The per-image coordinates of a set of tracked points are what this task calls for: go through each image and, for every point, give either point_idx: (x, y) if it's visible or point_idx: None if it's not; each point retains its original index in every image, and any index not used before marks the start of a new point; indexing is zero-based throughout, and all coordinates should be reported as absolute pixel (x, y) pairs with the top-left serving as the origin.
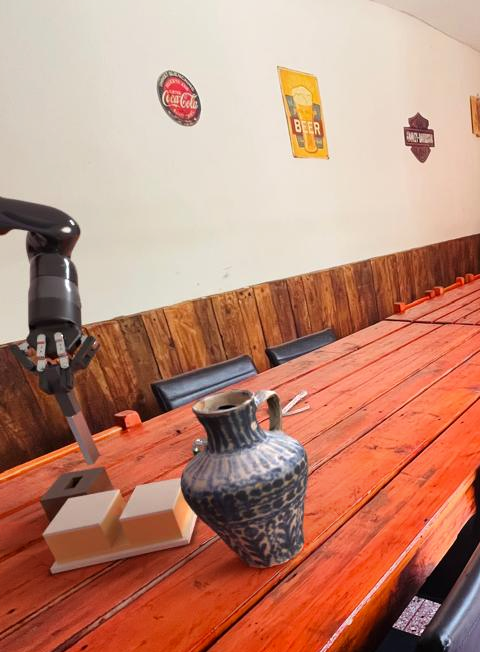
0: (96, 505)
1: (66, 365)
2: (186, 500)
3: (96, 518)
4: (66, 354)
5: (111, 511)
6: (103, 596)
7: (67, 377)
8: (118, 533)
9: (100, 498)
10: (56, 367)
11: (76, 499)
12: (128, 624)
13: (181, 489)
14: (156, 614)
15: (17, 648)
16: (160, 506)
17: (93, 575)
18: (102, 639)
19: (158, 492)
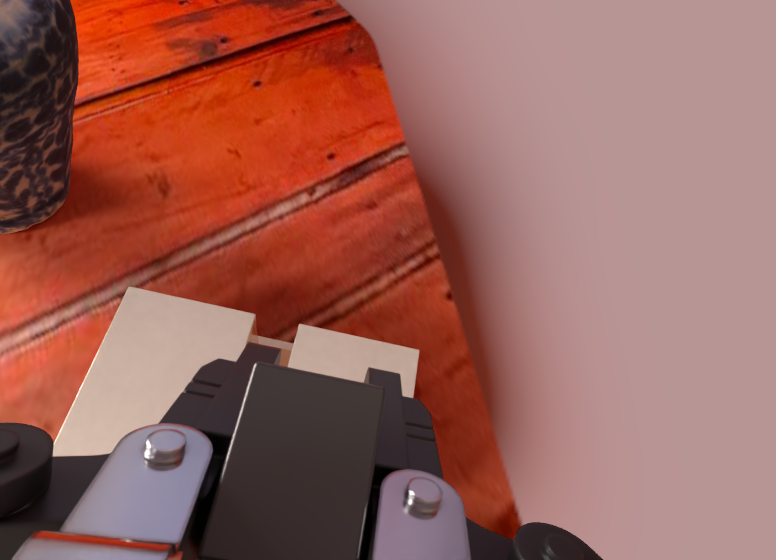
0: None
1: (148, 437)
2: (71, 8)
3: (306, 351)
4: (40, 533)
5: None
6: (312, 247)
7: (203, 395)
8: None
9: None
10: (251, 373)
11: None
12: (275, 163)
13: (63, 12)
14: (236, 160)
15: (417, 204)
16: (152, 314)
17: (333, 319)
18: (309, 156)
19: (141, 403)
